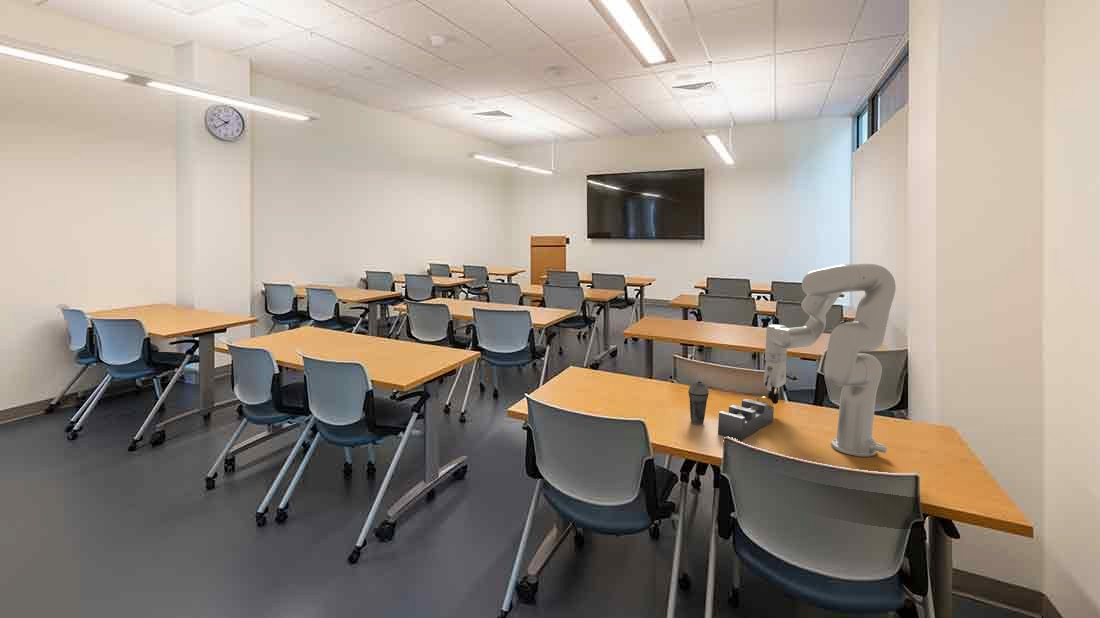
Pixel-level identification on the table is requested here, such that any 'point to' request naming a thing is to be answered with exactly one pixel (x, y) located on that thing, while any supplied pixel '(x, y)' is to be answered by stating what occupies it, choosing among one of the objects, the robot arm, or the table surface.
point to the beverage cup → (698, 401)
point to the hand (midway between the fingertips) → (772, 402)
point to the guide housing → (744, 419)
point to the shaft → (761, 399)
